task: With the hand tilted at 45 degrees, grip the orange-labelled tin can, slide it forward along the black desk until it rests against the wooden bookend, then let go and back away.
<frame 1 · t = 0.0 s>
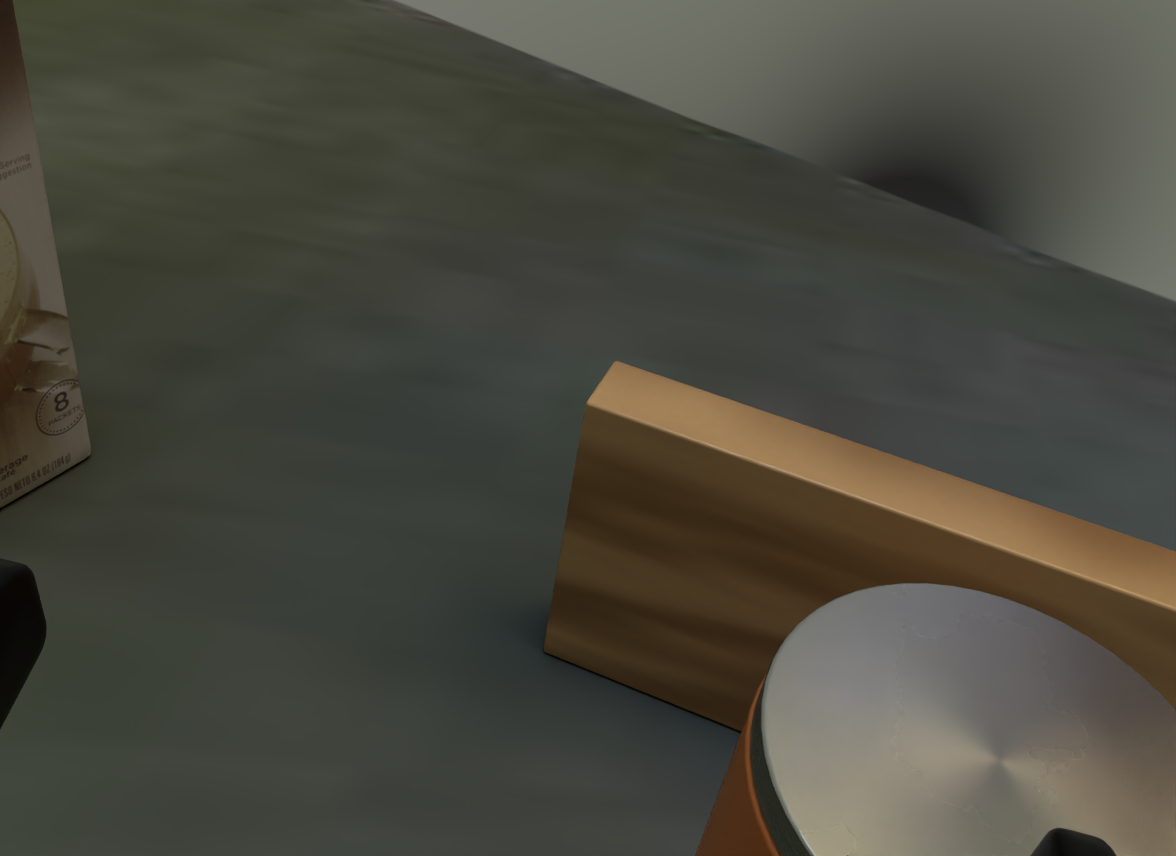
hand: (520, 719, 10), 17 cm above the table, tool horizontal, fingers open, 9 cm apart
wooden bookend: (858, 748, 30), on the table
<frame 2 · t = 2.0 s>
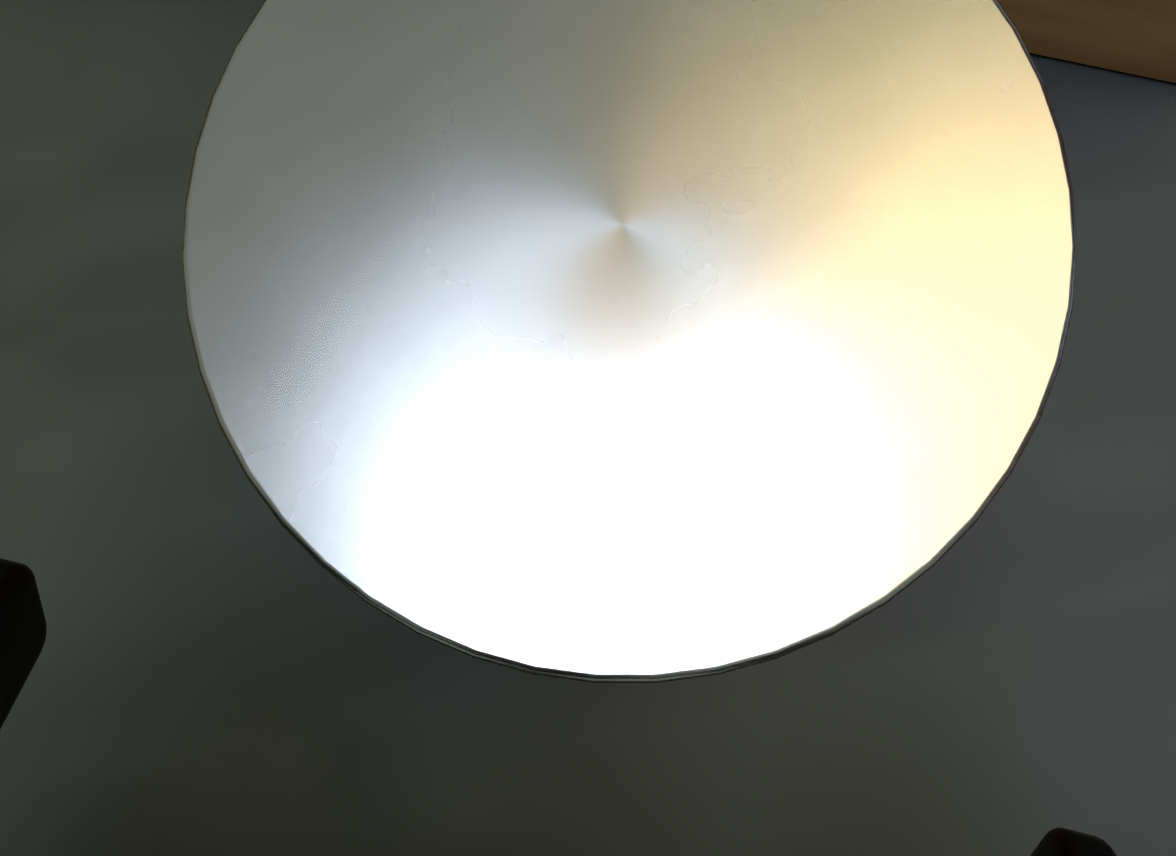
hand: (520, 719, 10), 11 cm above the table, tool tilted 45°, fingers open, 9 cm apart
tin can: (628, 436, 20), on the table
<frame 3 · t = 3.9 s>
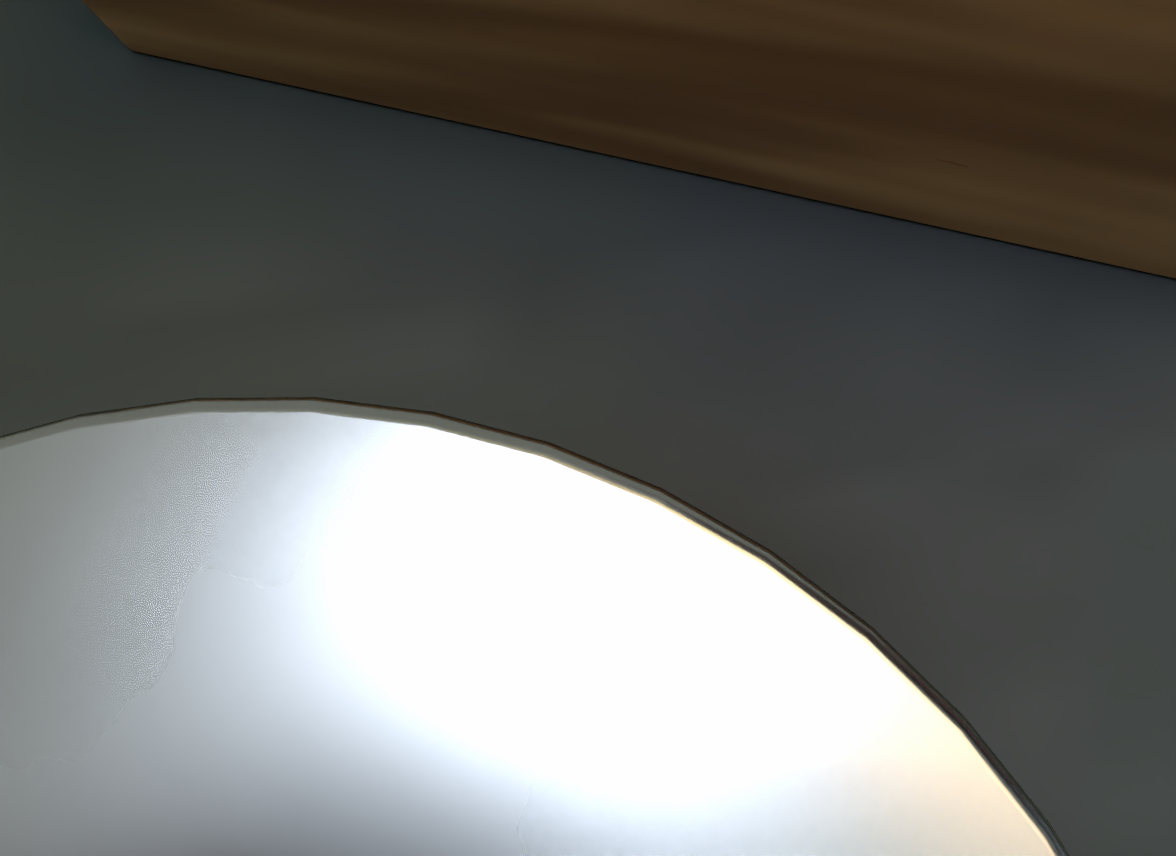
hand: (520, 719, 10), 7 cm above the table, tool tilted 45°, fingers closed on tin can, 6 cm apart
wooden bookend: (697, 111, 17), on the table
tin can: (542, 752, 16), on the table, touching gripper
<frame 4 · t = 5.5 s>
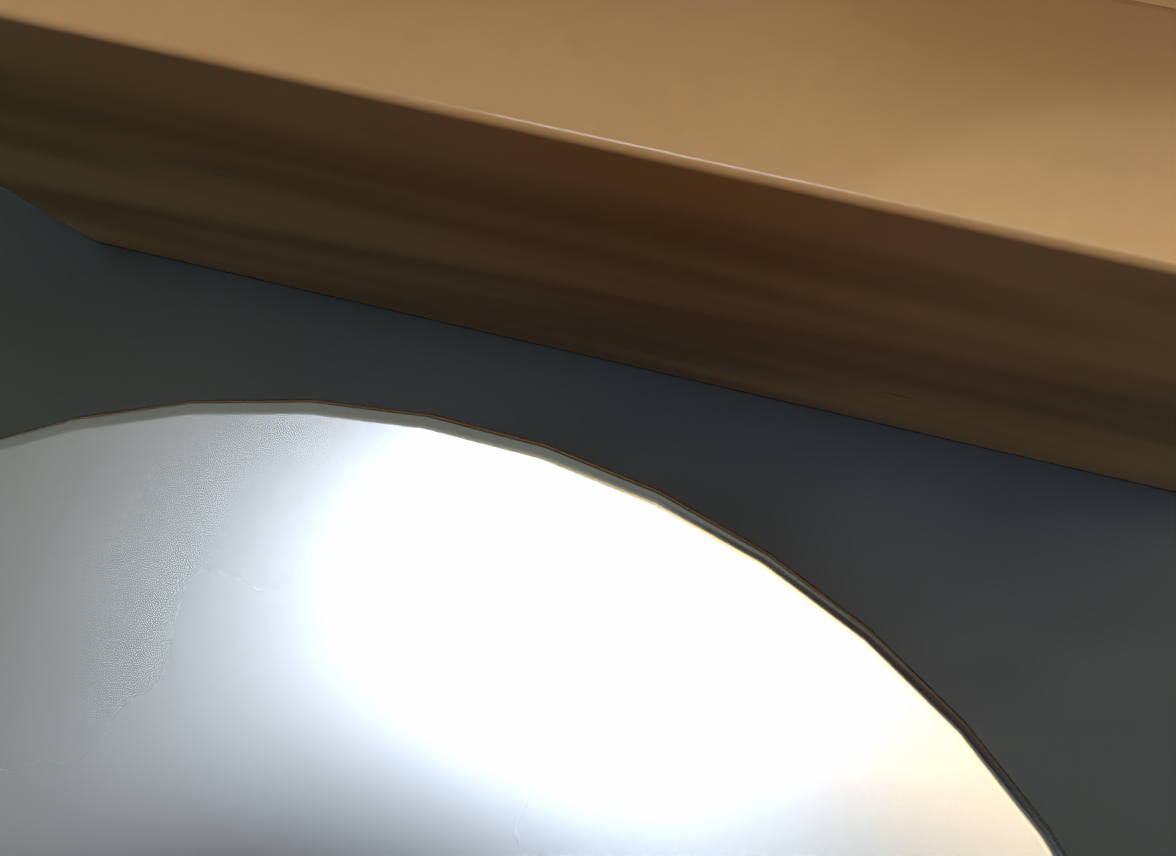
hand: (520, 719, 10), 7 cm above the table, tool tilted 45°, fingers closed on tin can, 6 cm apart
wooden bookend: (653, 306, 17), on the table
tin can: (542, 752, 16), point 1 cm above the table, touching gripper
when the fingers open (7 cm above the table, at t = 7.2 s): tin can stays where it is, on the table.
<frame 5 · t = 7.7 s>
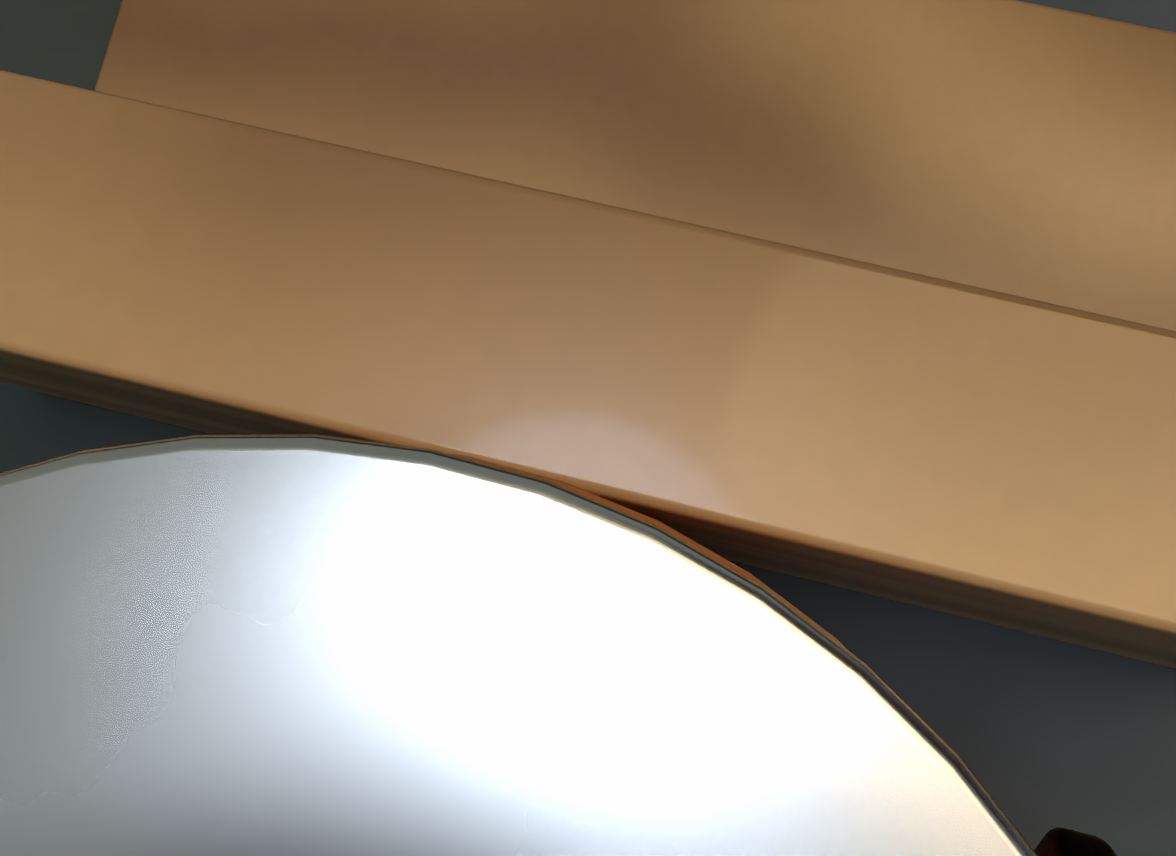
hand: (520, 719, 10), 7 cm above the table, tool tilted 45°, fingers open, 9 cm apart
wooden bookend: (616, 463, 16), on the table
tin can: (542, 759, 16), on the table
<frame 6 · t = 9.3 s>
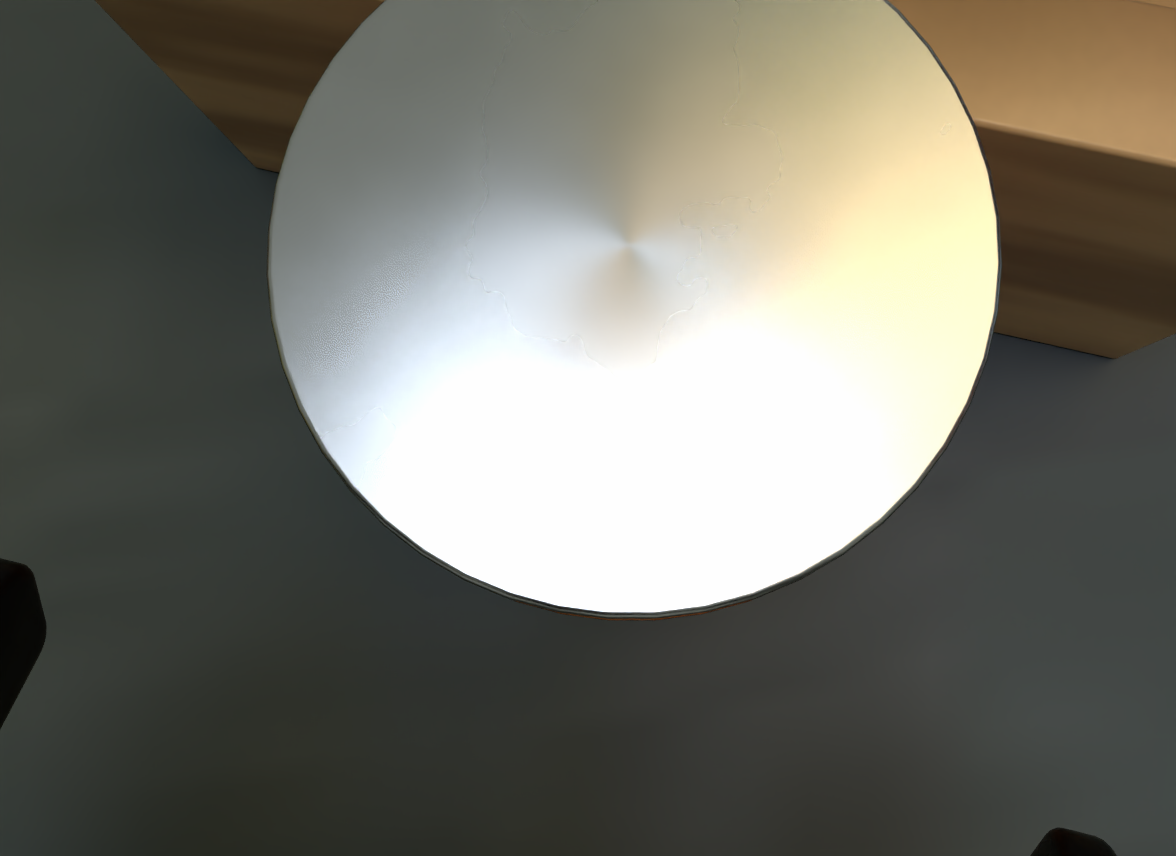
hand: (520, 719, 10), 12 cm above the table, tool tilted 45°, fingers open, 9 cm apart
wooden bookend: (684, 215, 23), on the table
tin can: (632, 422, 22), on the table
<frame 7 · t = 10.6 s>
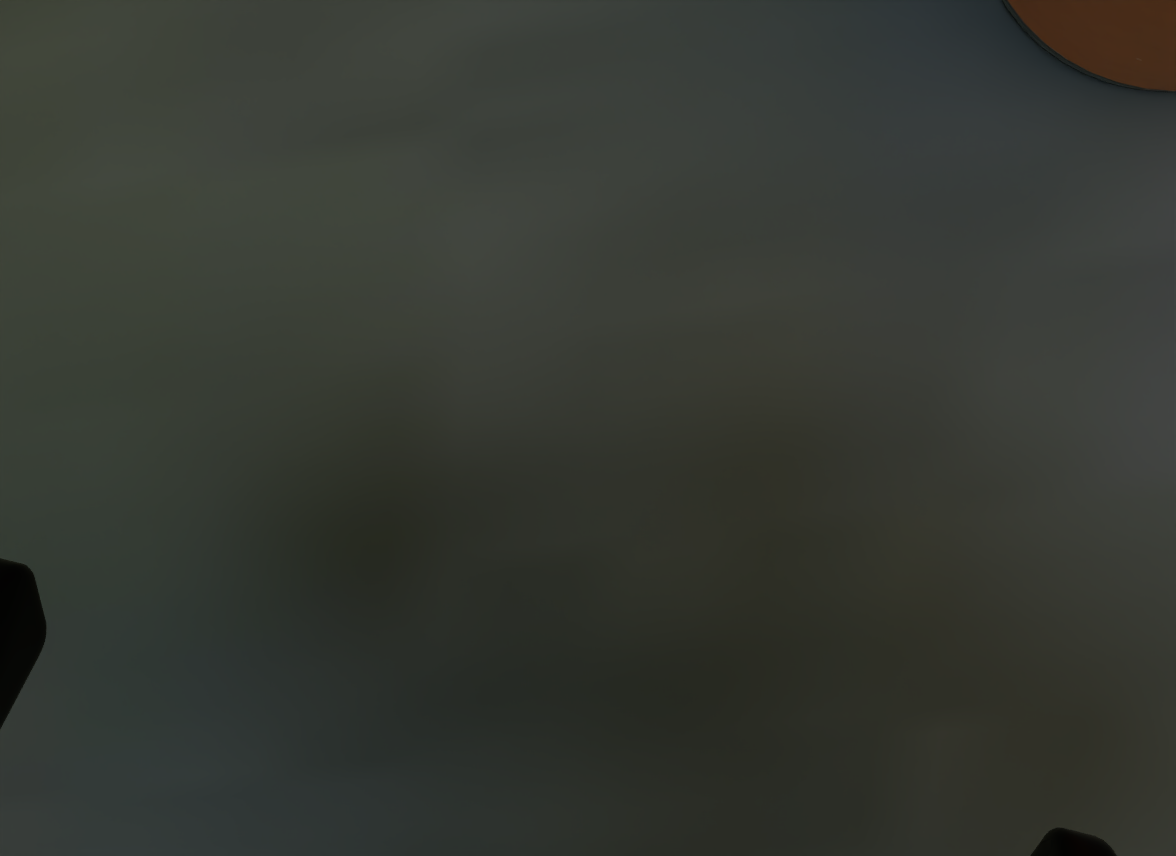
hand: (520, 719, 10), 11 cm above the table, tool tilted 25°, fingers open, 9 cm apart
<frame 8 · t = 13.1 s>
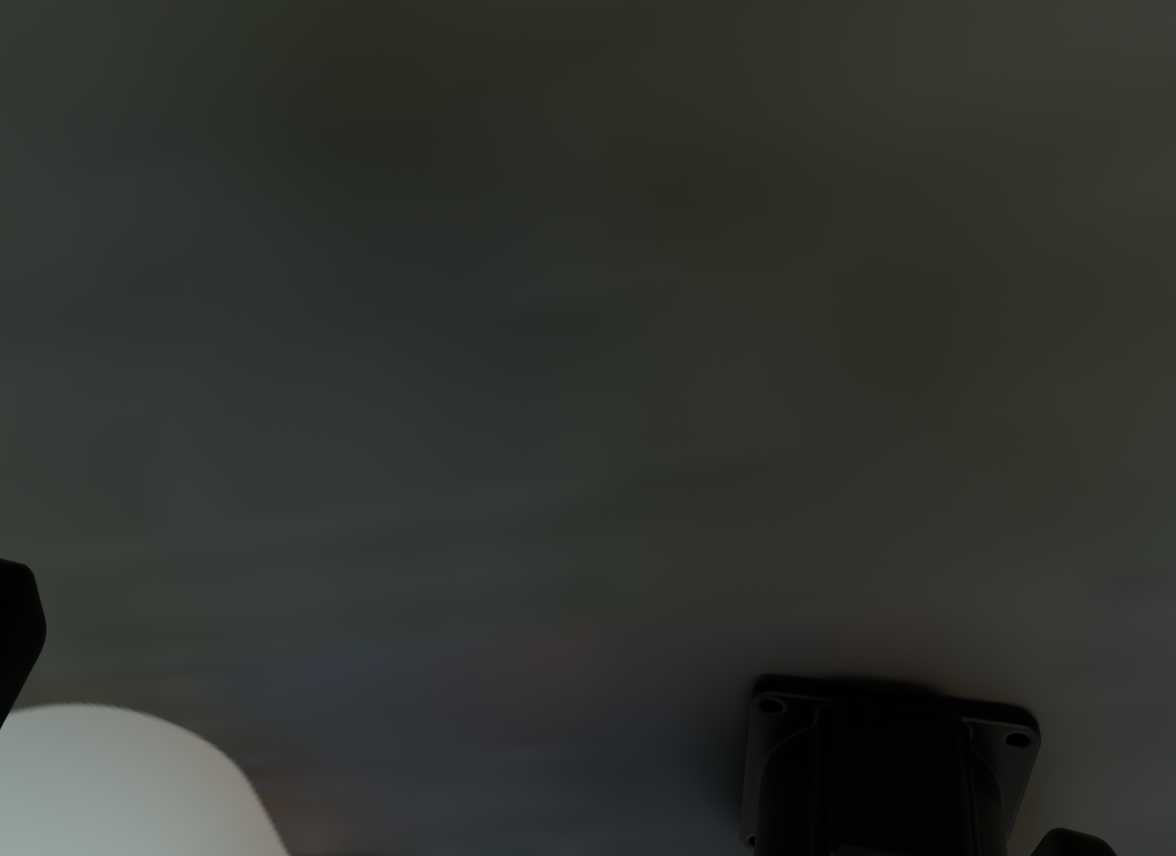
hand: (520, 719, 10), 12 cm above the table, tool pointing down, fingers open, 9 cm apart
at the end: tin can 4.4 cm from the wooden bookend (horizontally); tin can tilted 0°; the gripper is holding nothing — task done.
